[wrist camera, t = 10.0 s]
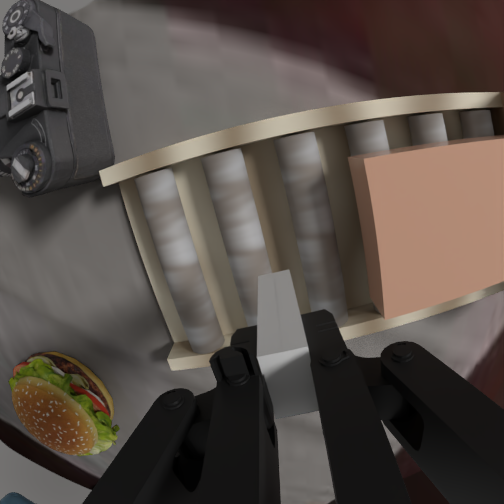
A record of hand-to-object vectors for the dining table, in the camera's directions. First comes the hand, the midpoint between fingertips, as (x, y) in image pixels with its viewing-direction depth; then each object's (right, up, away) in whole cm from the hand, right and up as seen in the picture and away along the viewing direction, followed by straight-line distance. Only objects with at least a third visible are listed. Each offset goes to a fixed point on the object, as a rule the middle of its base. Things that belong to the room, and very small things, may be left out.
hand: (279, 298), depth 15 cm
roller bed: (+6, +5, +9) cm, 11 cm away
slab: (+13, +5, +5) cm, 15 cm away
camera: (-18, +14, +7) cm, 24 cm away
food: (-22, -14, +16) cm, 31 cm away
